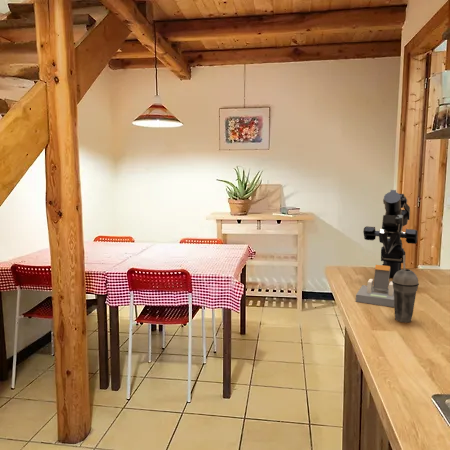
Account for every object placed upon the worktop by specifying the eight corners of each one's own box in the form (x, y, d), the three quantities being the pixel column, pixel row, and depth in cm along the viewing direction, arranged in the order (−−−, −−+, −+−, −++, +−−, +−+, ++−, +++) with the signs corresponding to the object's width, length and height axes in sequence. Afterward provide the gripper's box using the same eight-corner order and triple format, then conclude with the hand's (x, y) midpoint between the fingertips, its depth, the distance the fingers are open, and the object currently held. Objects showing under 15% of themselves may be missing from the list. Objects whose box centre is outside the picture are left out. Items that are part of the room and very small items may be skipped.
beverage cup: (422, 322, 120) (426, 256, 117) (403, 326, 118) (407, 258, 115) (403, 313, 127) (406, 251, 124) (384, 317, 125) (388, 253, 121)
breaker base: (362, 291, 149) (362, 274, 148) (403, 297, 142) (404, 279, 141) (355, 301, 138) (356, 283, 138) (400, 308, 132) (401, 289, 131)
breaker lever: (373, 290, 142) (376, 266, 144) (387, 292, 140) (390, 267, 142) (372, 289, 140) (375, 264, 142) (387, 291, 138) (389, 266, 140)
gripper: (365, 205, 156) (358, 238, 148) (419, 207, 147) (415, 243, 139) (367, 223, 164) (361, 255, 156) (418, 226, 155) (415, 260, 147)
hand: (387, 253), depth 150 cm, fingers closed
